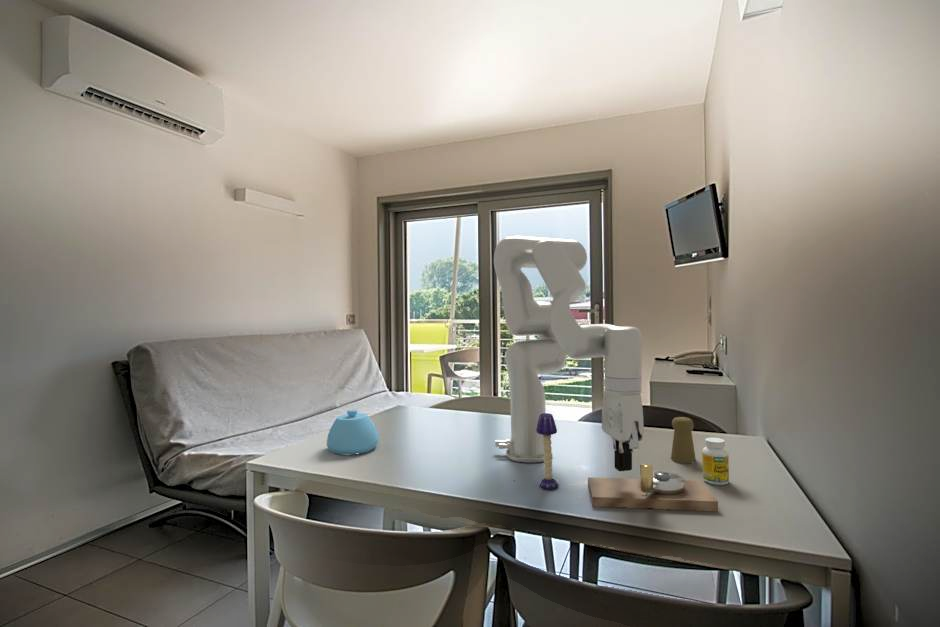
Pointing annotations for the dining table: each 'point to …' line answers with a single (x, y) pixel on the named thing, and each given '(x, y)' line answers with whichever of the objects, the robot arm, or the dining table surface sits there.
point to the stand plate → (631, 496)
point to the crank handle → (659, 481)
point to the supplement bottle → (715, 462)
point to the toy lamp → (547, 449)
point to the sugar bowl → (352, 434)
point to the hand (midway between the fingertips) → (623, 469)
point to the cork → (683, 440)
